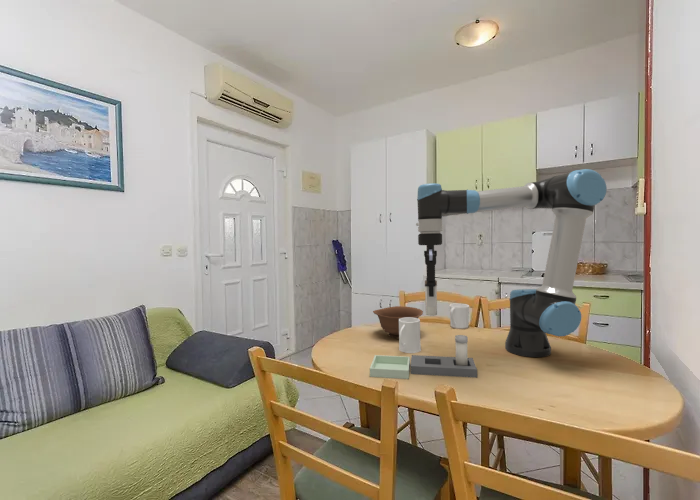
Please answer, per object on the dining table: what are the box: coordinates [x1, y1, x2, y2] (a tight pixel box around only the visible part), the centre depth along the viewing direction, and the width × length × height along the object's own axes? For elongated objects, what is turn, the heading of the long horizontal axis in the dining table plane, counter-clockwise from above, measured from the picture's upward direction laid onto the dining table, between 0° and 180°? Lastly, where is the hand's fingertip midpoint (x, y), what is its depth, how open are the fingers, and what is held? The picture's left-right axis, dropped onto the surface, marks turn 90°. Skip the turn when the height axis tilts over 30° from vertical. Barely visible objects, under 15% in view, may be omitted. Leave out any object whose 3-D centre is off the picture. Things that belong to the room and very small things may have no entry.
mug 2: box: [448, 302, 470, 330], centre depth 162 cm, size 11×9×10 cm
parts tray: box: [369, 354, 411, 380], centre depth 112 cm, size 12×12×3 cm
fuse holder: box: [410, 334, 478, 379], centre depth 111 cm, size 20×10×12 cm, turn 78°
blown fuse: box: [424, 279, 438, 317], centre depth 111 cm, size 4×4×11 cm
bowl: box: [372, 305, 424, 339], centre depth 152 cm, size 22×22×11 cm
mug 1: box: [398, 317, 422, 354], centre depth 131 cm, size 12×8×12 cm
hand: (431, 304), depth 111 cm, fingers closed on blown fuse, 4 cm apart
